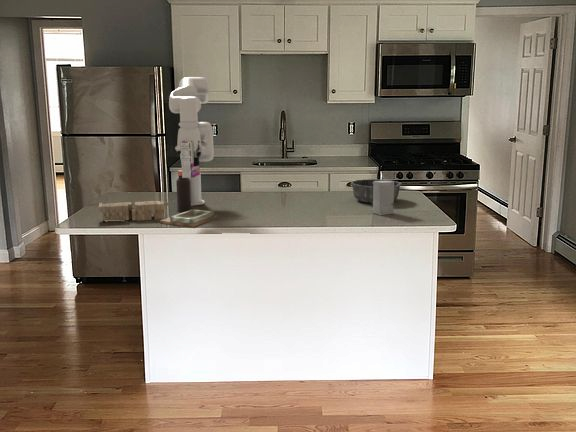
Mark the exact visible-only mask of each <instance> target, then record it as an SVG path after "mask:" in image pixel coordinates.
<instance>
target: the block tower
mask: <svg viewBox="0 0 576 432" xmlns="http://www.w3.org/2000/svg"><path fill="white" fill-rule="evenodd" d="M132 205H133V203H132V202H131V201H128V202H114V203H103V202H99V204H98V213H101V214H102V221H103V220H129V219H132V220H137V221H149V220H150V221H151V220H152V215H153V218H154V219H153V220H163V219H165V203H164V201H160V200H150V201H149V200H148V201H147V200H146V201H135V202H134V206H132ZM132 220H131V221H132ZM129 221H130V220H129Z"/></svg>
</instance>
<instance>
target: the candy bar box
mask: <svg viewBox="0 0 576 432" xmlns="http://www.w3.org/2000/svg"><path fill="white" fill-rule="evenodd" d="M180 150H181V158H180V164H181V167H180V168H181V170H182V178H193V177H195V176H197V175H199V174H200V172H201V169H200V168H201V167H200V165H199V166H194V157H195V156H194V153H193V151H192V142H191V141H182V142H180Z"/></svg>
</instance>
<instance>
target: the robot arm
mask: <svg viewBox="0 0 576 432" xmlns="http://www.w3.org/2000/svg"><path fill="white" fill-rule="evenodd" d="M210 89H211V87H210V82H209V80H208V79H207V78H206V77H204V76H187V77H183V78H182V79H181V80H180V81H179V83H178V87H177V88H175V90H173V91H171V92H170V94H169V99H168V100H169V101H168V107H169V110H170V112H171V113H173V114H179V123H178V126H179V127H180V128H178V132H177V145H175V147H174V149H175V151H176V152H177V153H178V154H179V157H180V159H181V150H180V142H182V141H191V142H192V151H193V153H194V156H195V157H194V166H199V167H200V162H211V161H212V160H214V157H215V156H214V155H215V154H214V153H215V149H214V130H213V127H212V123H210V122H208V121H198V120H199V119H198V118H199V117H198V113H199V112H200V110H201V109H202V104H207V103H209V102H210V97H211V96H210V95H211V93H210ZM202 141H203V142H202ZM201 174H202V173H201V171H200V174H199V175H197V176H195V177H193V178H188V179H189V180H190V190H191V207H193V206H199V205H204V204H205V200H204V199H202V183H201V182H202V180H201V177H202V175H201Z"/></svg>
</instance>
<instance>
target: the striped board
mask: <svg viewBox="0 0 576 432" xmlns="http://www.w3.org/2000/svg"><path fill="white" fill-rule="evenodd" d="M215 219H218V215H215V212H214V211H213V210H204V209H203V210H202V209H201V210H200V209H192V208H191V210H189V211H186V212H181V213H177V214H174V215H171V216H169V217H167V218H164V219H159V224H164V225H172V226H173V225H174V226H181V227H182V226H183V227H189V228H191V227H192V228H194V227H196V226H199V225H202V224H205V223H207V222H210V221H213V220H215Z"/></svg>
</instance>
